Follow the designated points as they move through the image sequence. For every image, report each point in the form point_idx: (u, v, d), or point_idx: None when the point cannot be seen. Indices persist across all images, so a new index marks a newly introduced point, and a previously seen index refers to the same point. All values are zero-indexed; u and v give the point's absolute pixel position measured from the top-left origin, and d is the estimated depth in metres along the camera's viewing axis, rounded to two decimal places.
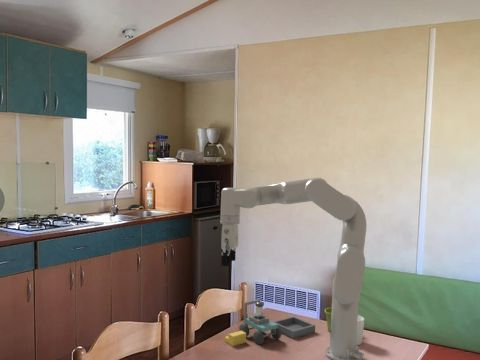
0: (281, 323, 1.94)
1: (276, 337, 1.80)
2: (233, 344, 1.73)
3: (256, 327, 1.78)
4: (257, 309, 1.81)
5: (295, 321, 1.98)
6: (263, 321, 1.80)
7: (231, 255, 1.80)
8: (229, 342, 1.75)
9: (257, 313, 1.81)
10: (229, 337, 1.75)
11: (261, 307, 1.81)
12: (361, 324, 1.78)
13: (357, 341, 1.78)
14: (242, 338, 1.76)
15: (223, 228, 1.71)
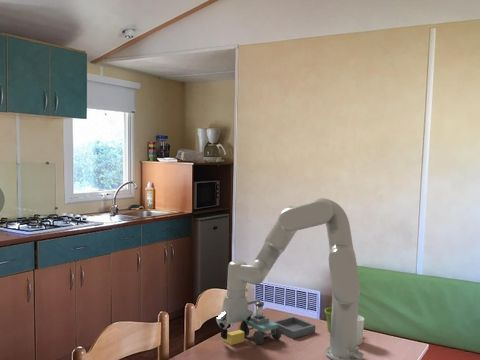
0: (281, 323, 1.94)
1: (276, 337, 1.80)
2: (231, 343, 1.74)
3: (256, 327, 1.78)
4: (257, 309, 1.81)
5: (295, 321, 1.98)
6: (263, 321, 1.80)
7: None
8: (227, 341, 1.76)
9: (257, 313, 1.81)
10: (227, 336, 1.76)
11: (261, 307, 1.81)
12: (361, 324, 1.78)
13: (357, 341, 1.78)
14: (240, 337, 1.77)
15: None
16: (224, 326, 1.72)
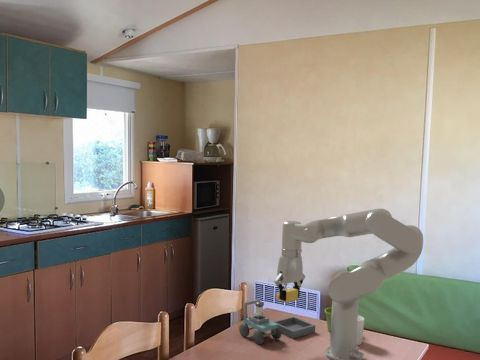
0: (281, 323, 1.94)
1: (276, 337, 1.80)
2: (286, 300, 1.73)
3: (256, 327, 1.78)
4: (257, 309, 1.81)
5: (295, 321, 1.98)
6: (263, 321, 1.80)
7: None
8: None
9: (257, 313, 1.81)
10: None
11: (261, 307, 1.81)
12: (361, 324, 1.78)
13: (357, 341, 1.78)
14: (294, 295, 1.75)
15: None
16: (283, 288, 1.71)
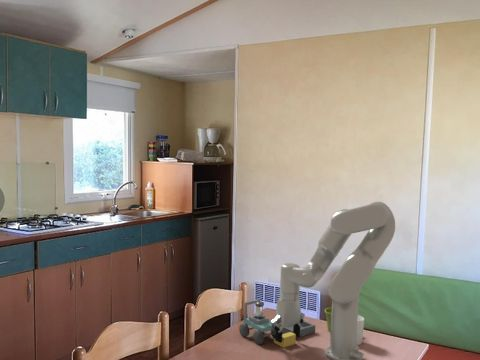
0: (281, 323, 1.94)
1: None
2: (284, 345, 1.74)
3: (256, 327, 1.78)
4: (257, 309, 1.81)
5: None
6: (263, 321, 1.80)
7: None
8: (279, 343, 1.75)
9: (257, 313, 1.81)
10: None
11: (261, 307, 1.81)
12: (361, 324, 1.78)
13: (357, 341, 1.78)
14: (292, 340, 1.76)
15: None
16: (279, 329, 1.71)
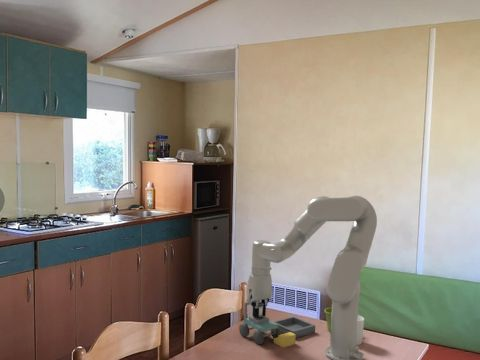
0: (281, 323, 1.94)
1: (276, 337, 1.80)
2: (283, 345, 1.74)
3: (256, 327, 1.78)
4: None
5: (295, 321, 1.98)
6: (263, 321, 1.80)
7: None
8: (279, 343, 1.75)
9: None
10: (279, 338, 1.75)
11: (261, 307, 1.81)
12: (361, 324, 1.78)
13: (357, 341, 1.78)
14: (292, 340, 1.76)
15: None
16: (255, 306, 1.80)
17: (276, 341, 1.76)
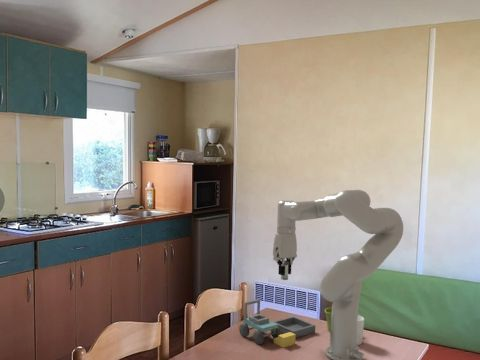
0: (281, 323, 1.94)
1: (276, 337, 1.80)
2: (283, 345, 1.74)
3: (256, 327, 1.78)
4: None
5: (295, 321, 1.98)
6: (263, 321, 1.80)
7: None
8: (279, 343, 1.75)
9: None
10: (279, 338, 1.75)
11: (287, 265, 1.86)
12: (361, 324, 1.78)
13: (357, 341, 1.78)
14: (292, 340, 1.76)
15: None
16: (282, 263, 1.84)
17: (276, 341, 1.76)
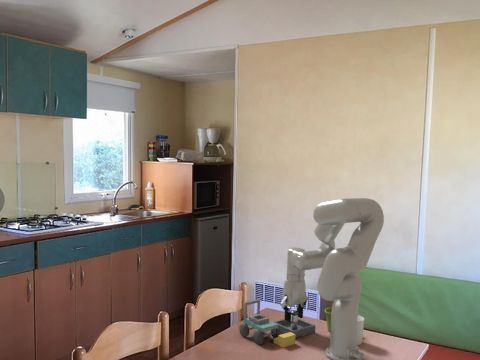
0: (281, 323, 1.94)
1: (276, 337, 1.80)
2: (283, 345, 1.74)
3: (256, 327, 1.78)
4: (292, 318, 1.90)
5: None
6: (263, 321, 1.80)
7: None
8: (279, 343, 1.75)
9: (292, 321, 1.90)
10: (279, 338, 1.75)
11: (296, 316, 1.90)
12: (361, 324, 1.78)
13: (357, 341, 1.78)
14: (292, 340, 1.76)
15: None
16: (288, 309, 1.87)
17: (276, 341, 1.76)
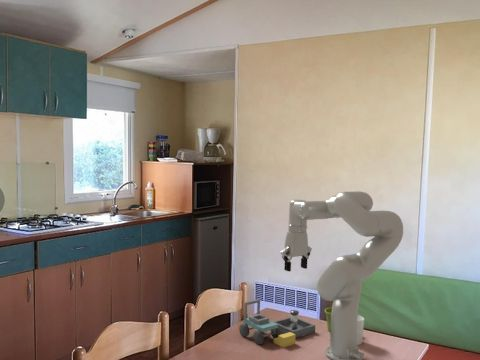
0: (281, 323, 1.94)
1: (276, 337, 1.80)
2: (284, 346, 1.74)
3: (256, 327, 1.78)
4: (292, 317, 1.90)
5: None
6: (263, 321, 1.80)
7: None
8: (279, 344, 1.75)
9: (292, 321, 1.90)
10: (279, 339, 1.75)
11: (296, 316, 1.90)
12: (361, 324, 1.78)
13: (357, 341, 1.78)
14: (292, 340, 1.76)
15: None
16: (288, 259, 1.85)
17: (276, 341, 1.76)
